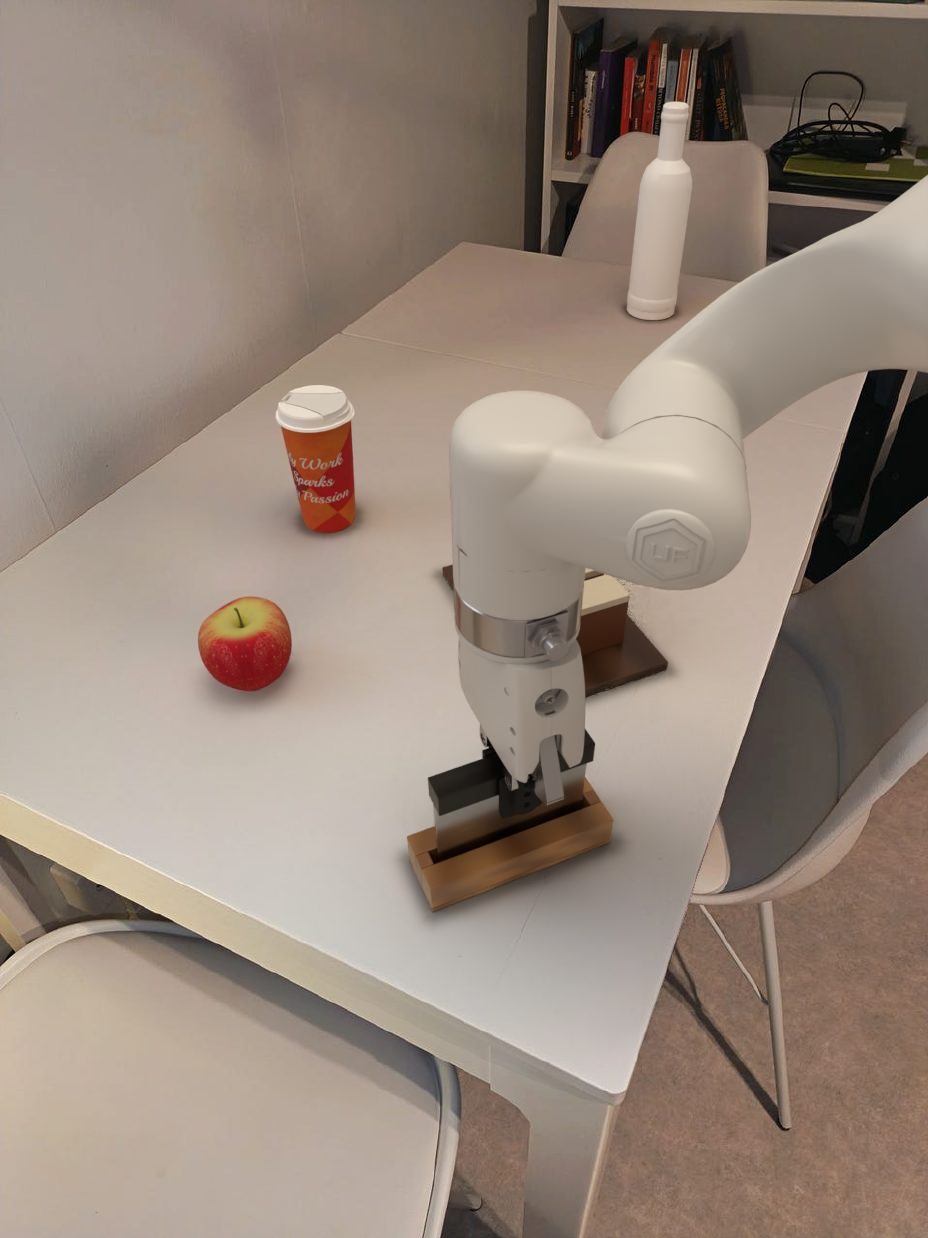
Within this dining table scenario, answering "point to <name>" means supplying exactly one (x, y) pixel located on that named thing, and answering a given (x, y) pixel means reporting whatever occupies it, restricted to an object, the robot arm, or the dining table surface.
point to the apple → (246, 643)
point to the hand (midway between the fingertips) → (511, 794)
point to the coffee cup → (320, 454)
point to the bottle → (661, 222)
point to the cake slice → (602, 614)
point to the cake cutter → (493, 803)
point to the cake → (613, 654)
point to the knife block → (508, 853)
